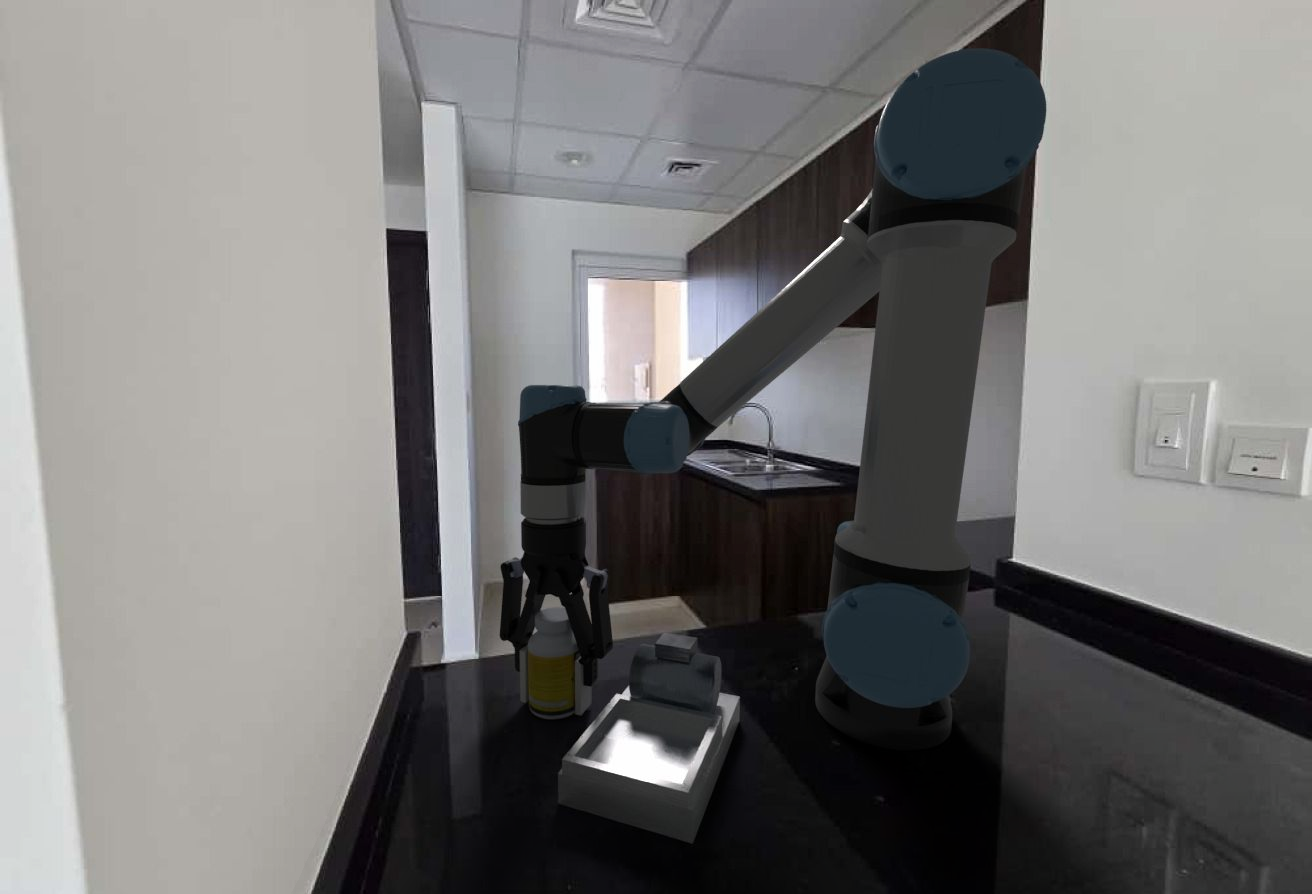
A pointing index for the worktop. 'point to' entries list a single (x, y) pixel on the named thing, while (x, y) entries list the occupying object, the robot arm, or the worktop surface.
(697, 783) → the motor base
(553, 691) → the pill bottle
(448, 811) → the worktop surface
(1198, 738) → the worktop surface
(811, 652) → the worktop surface
